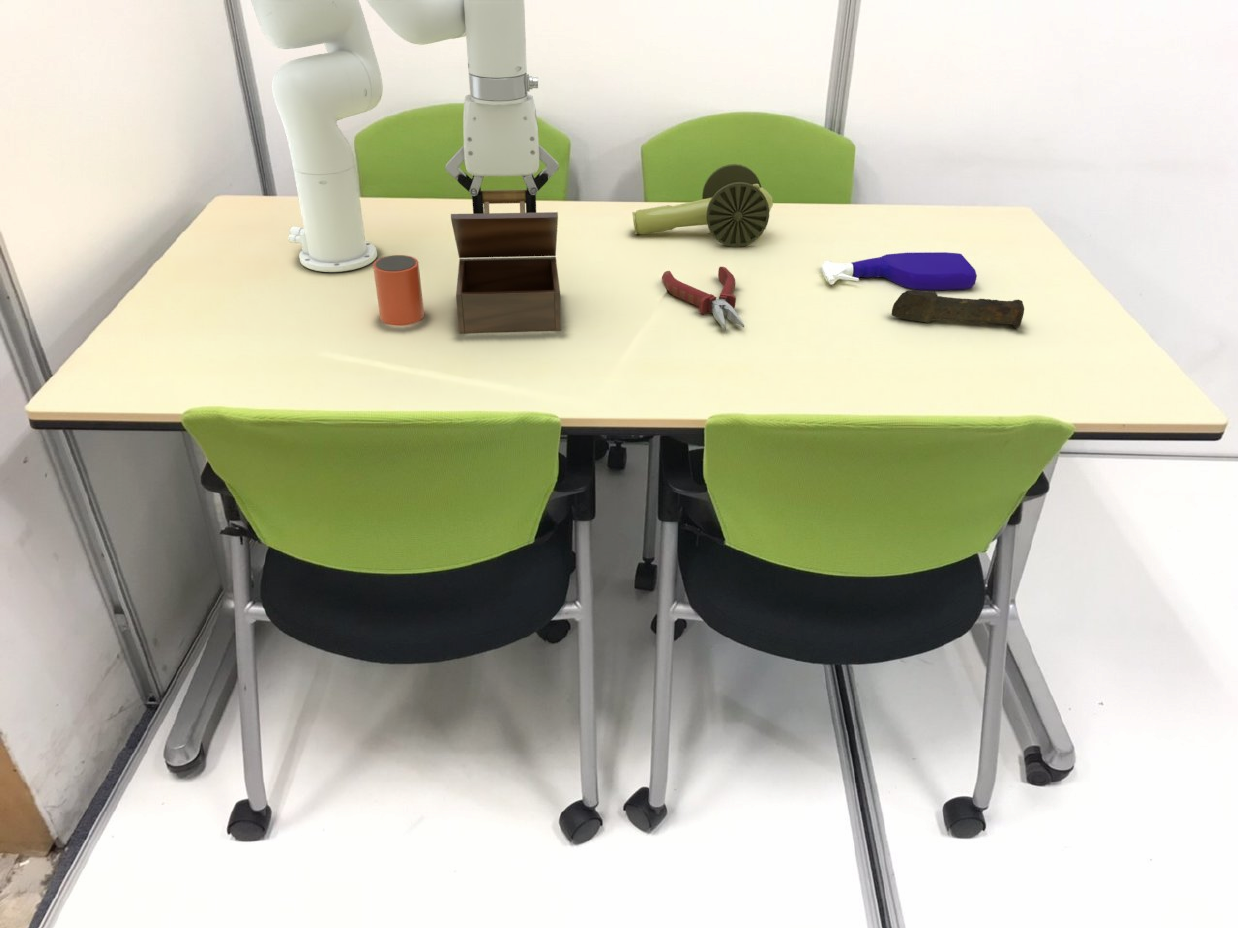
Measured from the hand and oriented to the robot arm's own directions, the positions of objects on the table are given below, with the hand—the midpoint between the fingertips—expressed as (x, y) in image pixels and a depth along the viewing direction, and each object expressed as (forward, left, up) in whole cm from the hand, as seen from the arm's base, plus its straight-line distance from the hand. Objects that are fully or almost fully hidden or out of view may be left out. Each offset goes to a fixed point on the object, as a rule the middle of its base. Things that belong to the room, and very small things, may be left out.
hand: (505, 219), depth 132 cm
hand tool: (+64, +21, -15) cm, 69 cm away
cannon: (+19, +43, -15) cm, 49 cm away
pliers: (+26, +14, -15) cm, 33 cm away
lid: (0, +1, -3) cm, 3 cm away
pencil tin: (-14, -7, -15) cm, 22 cm away
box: (0, -1, -15) cm, 15 cm away
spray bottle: (+54, +35, -15) cm, 66 cm away
